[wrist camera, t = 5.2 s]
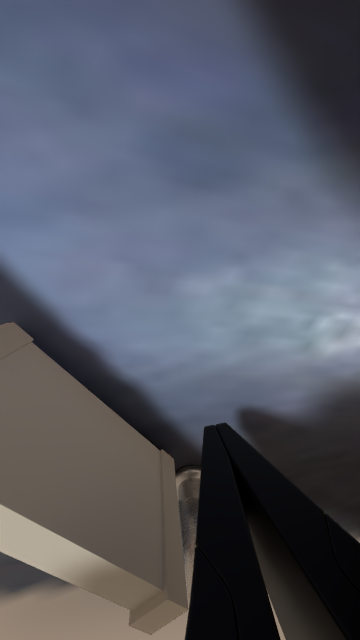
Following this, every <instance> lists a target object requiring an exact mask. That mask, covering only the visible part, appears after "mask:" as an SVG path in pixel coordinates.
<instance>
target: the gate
mask: <svg viewBox="0 0 360 640" xmlns="http://www.w3.org/2000/svg"><path fill="white" fill-rule="evenodd" d="M33 340H34V339H33V338H32V337H31V336H29V335H28V334H27V333H26V332H25V331H24V330H22V329H21V328H20V327H19V326H18V325H17V324H15V323H14V322H12V323H9V322H8V323H5V324H2V325H0V552H3V553H5V554H7V555H9V556H11V557H14V558H16V559H18V560H20V561H22V562H25V563H27V564H29V565H31V566H34V567H36V568H38V569H40V570H42V571H45V572H47V573H49V574H51V575H54V576H56V577H58V578H60V579H62V580H65V581H67V582H69V583H71V584H74V585H76V586H78V587H80V588H82V589H85V590H87V591H89V592H91V593H94V594H96V595H98V596H100V597H102V598H105V599H107V600H109V601H112V602H114V603H116V604H118V605H120V606H122V607H125V608H127V609H129V610H130V618H129V626H131V627H133V628H135V629H138V630H140V631H143V632H145V633H147V634H150V635H152V634H153V633H154V632H156V631H157V630H159V629H161V628H162V627H164V626H165V625H167V624H168V623H169V622H171V621H172V620H174V619H176V618H177V617H178V616H180V615H181V614H183V613H185V612H186V611H187V610H188V600H187V590H186V580H185V569H184V559H183V549H182V538H181V528H180V518H179V507H178V497H177V487H176V476H175V466H174V459H173V458H172V457H171V456H170V455H168V454H167V453H166V452H165V451H164V450H163V449H162V450H159V449H157V448H156V447H155V446H154V445H153V444H152V443H150V442H149V441H148V440H147V439H146V438H144V437H143V436H142V435H141V434H140V433H139V432H137V431H136V430H135V429H134V428H133V427H131V426H130V425H129V424H128V423H127V422H126V421H124V420H123V419H122V418H121V417H120V416H118V415H117V414H116V413H115V412H114V411H113V410H111V409H110V408H109V407H108V406H107V405H106V404H104V403H103V402H102V401H101V400H100V399H98V398H97V397H96V396H95V395H94V394H93V393H91V392H90V391H89V390H88V389H87V388H85V387H84V386H83V385H82V384H81V383H80V382H78V381H77V380H76V379H75V378H74V377H72V376H71V375H70V374H69V373H68V372H67V371H65V370H64V369H63V368H62V367H61V366H59V365H58V364H57V363H56V362H55V361H54V360H52V359H51V358H50V357H49V356H48V355H47V354H45V353H44V352H43V351H42V350H41V349H39V348H38V347H37V346H36V345H35V344H34V343H32V341H33Z"/></svg>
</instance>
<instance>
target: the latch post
mask: <svg viewBox="0 0 360 640" xmlns="http://www.w3.org/2000/svg"><path fill="white" fill-rule="evenodd" d="M200 474H201V467H200V466H187V467H184V468H181V469H180V470H178V471H177V472H176V473H175V476H176V487H177V497H178V501H179V507H180V517H181V527H182V537H183V547H184V557H185V567H186V577H187V587H188V597H189V605H190V595H191V585H192V575H193V563H194V550H195V547H196V546H195V539H196V526H197V513H198V500H199V487H200Z"/></svg>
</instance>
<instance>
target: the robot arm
mask: <svg viewBox="0 0 360 640" xmlns="http://www.w3.org/2000/svg"><path fill="white" fill-rule="evenodd" d="M195 546H196V547H195V550H194V563H193V575H192V585H191V595H190V605H189V613H188V620H187V627H186V635H185V640H280V637H279V633H278V629H277V626H276V622H275V618H274V615H273V611H272V608H271V604H270V601H269V597H270V600H271V602H272V605H273V608H274V610H275V613H276V615H277V618H278V621H279V623H280V626H281V628H282V631H283V633H284V636H285V639H286V640H360V543H359V542H358V541H357V540H356V539H355V538H353V537H352V536H351V535H350V534H349V533H348V532H347V531H345V530H344V529H343V528H342V527H341V526H340V525H339V524H338V523H337V522H335V521H334V520H333V519H332V518H331V517H330V516H329V515H328V514H324V511H323V510H322V509H321V508H320V507H319V506H318V505H316V504H315V503H314V502H313V501H312V500H311V499H310V498H309V497H308V496H307V495H305V494H304V493H303V492H302V491H301V490H300V489H299V488H298V487H297V486H295V485H294V484H293V483H292V482H291V481H290V480H289V479H288V478H287V477H285V476H284V475H283V474H282V473H281V472H280V471H279V470H278V469H277V468H276V467H274V466H273V465H272V464H271V463H270V462H269V461H268V460H267V459H266V458H264V457H263V456H262V455H261V454H260V453H259V452H258V451H257V450H256V449H254V448H253V447H252V446H251V445H250V444H249V443H248V442H247V441H246V440H245V439H243V438H242V437H241V436H240V435H239V434H238V433H237V432H236V431H235V430H233V429H232V428H231V427H230V426H229V425H228V424H227V423H220V424H216V425H210V426H205V427H204V435H203V448H202V461H201V474H200V487H199V500H198V513H197V526H196V539H195ZM266 589H267V590H266ZM267 592H268V593H267ZM268 594H269V597H268Z"/></svg>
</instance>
